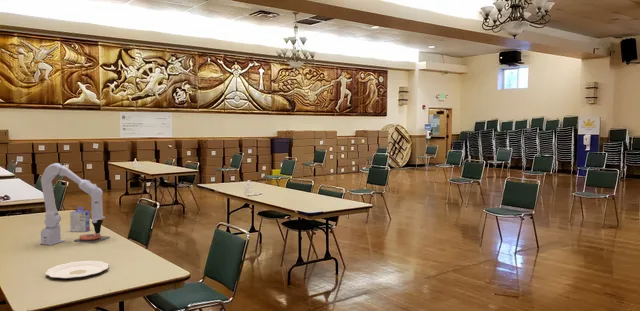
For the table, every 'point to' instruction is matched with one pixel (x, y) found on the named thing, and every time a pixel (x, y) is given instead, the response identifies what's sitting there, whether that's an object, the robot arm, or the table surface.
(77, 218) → the ink cartridge box
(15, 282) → the table surface
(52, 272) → the plate
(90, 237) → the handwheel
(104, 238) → the bench plate
